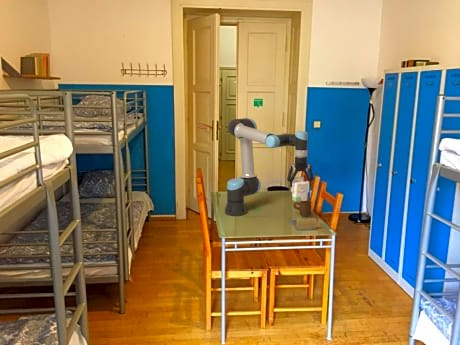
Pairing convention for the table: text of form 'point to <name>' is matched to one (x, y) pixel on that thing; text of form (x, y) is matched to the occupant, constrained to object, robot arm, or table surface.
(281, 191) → the table surface
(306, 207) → the mug
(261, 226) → the table surface
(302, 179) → the ink box
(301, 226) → the bracket
